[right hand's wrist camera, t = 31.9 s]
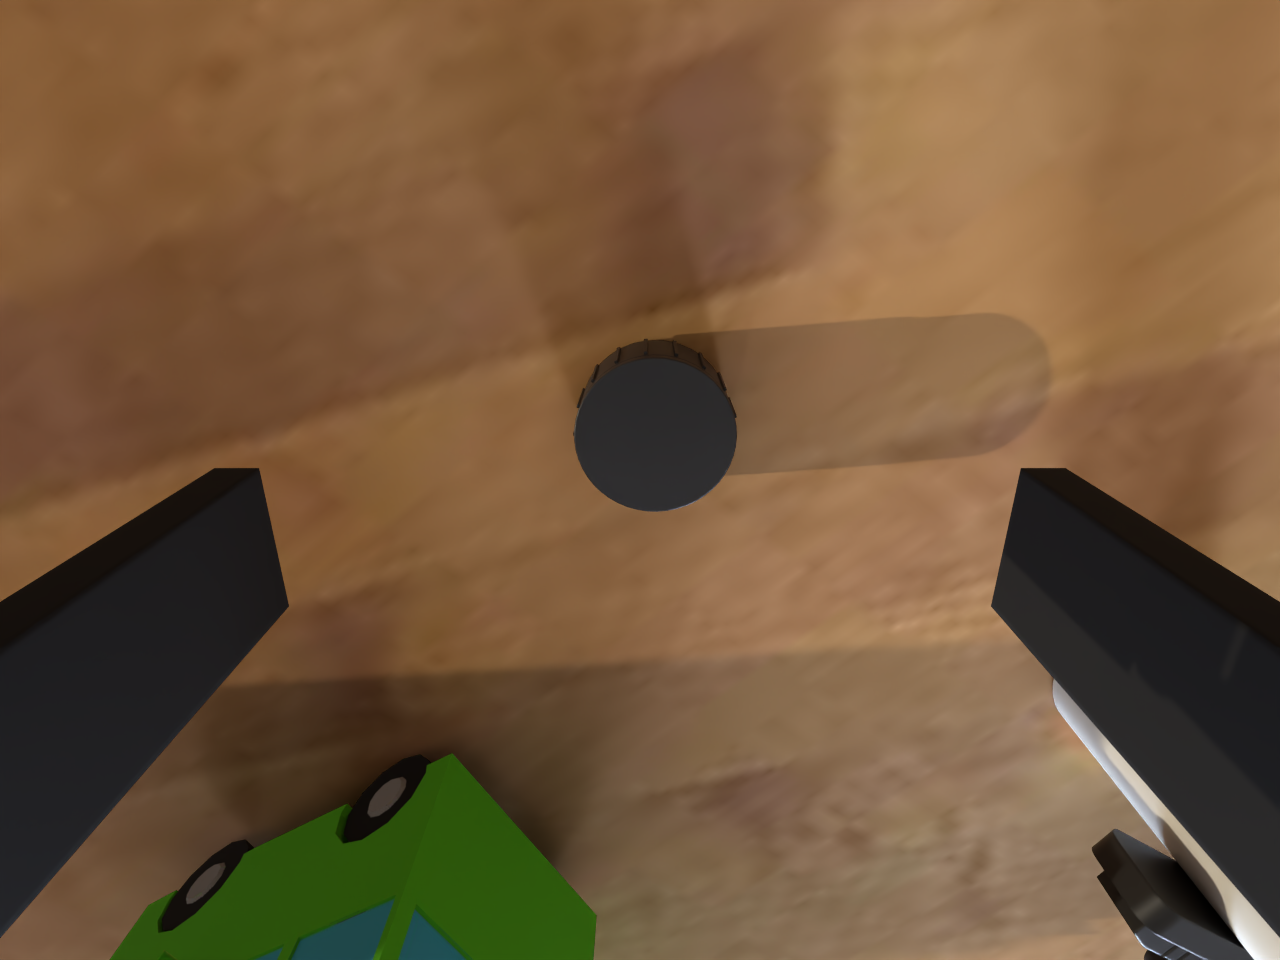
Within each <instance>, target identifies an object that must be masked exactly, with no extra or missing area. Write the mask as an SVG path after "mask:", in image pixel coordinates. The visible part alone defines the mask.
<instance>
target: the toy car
mask: <svg viewBox="0 0 1280 960" xmlns="http://www.w3.org/2000/svg"><path fill="white" fill-rule="evenodd" d="M596 916H597V915H596V914H595V913H594V912H593V911H592V910H591V909H590V907H589V906H588V905H587V904H586V903H585V902H584V901H583V900H582V898H581V897H580V896H579V895H578V894H577V893H576V892H575V891H574V889H573V888H572V887H571V886H570V885H569V884H568V883H567V882H566V880H565V879H564V878H563V877H562V876H561V875H560V874H559V873H558V871H557V870H556V869H555V868H554V867H553V866H552V865H551V864H550V862H549V861H548V860H547V859H546V858H545V857H544V856H543V855H542V854H541V852H540V851H539V850H538V849H537V848H536V847H535V846H534V845H533V843H532V842H531V841H530V840H529V839H528V838H527V837H526V836H525V834H524V833H523V832H522V831H521V830H520V829H519V828H518V827H517V825H516V824H515V823H514V822H513V821H512V820H511V819H510V818H509V816H508V815H507V814H506V813H505V812H504V811H503V810H502V809H501V807H500V806H499V805H498V804H497V803H496V802H495V801H494V800H493V798H492V797H491V796H490V795H489V794H488V793H487V792H486V791H485V790H484V788H483V787H482V786H481V785H480V784H479V783H478V782H477V781H476V779H475V778H474V777H473V776H472V775H471V774H470V773H469V772H468V770H467V769H466V768H465V767H464V766H463V765H462V764H461V763H460V761H459V760H458V759H457V758H456V757H455V756H454V755H453V754H449V755H447V756H445V757H443V758H441V759H439V760H437V761H435V762H433V763H431V762H430V761H428V760H427V759H426V758H424V757H423V756H422V755H417V756H413V757H409V758H405V759H403V760H401V761H400V762H398V763H397V764H395V765H394V766H392V767H391V768H389V769H388V770H386V771H385V772H383V773H382V774H381V775H380V776H379V777H378V778H377V779H376V780H375V781H374V782H373V783H372V784H371V785H370V786H369V787H368V788H367V789H366V790H365V791H364V792H363V794H362V795H361V797H360V798H359V800H358V801H357V803H356V804H355V806H354V807H353V808H352V807H351V806H350V805H349V804H348V803H347V804H345V805H343V806H341V807H339V808H337V809H335V810H333V811H331V812H329V813H327V814H324V815H322V816H320V817H318V818H316V819H314V820H312V821H310V822H308V823H306V824H304V825H302V826H299V827H297V828H295V829H293V830H291V831H289V832H287V833H285V834H283V835H281V836H279V837H277V838H274V839H272V840H270V841H268V842H266V843H264V844H262V845H260V846H258V847H256V848H254V847H253V846H252V845H251V844H250V843H248V842H247V841H246V840H241V841H236V842H232V843H230V844H229V845H227V846H226V847H224V848H223V849H221V850H220V851H218V852H217V853H215V854H214V855H212V856H211V857H210V858H209V859H208V860H207V861H206V862H205V863H204V864H203V865H202V866H201V867H200V868H199V869H198V870H196V871H195V872H194V873H193V874H192V875H191V876H190V877H189V879H188V880H187V881H186V882H185V884H184V885H183V886H182V887H181V889H180V890H179V891H177V890H176V891H174V892H172V893H170V894H168V895H167V896H165V897H163V898H161V899H159V900H157V901H155V902H153V903H152V904H150V905H148V907H147V908H146V909H145V911H144V912H143V914H142V915H141V916H140V918H139V919H138V921H137V922H136V923H135V925H134V926H133V928H132V929H131V930H130V932H129V933H128V935H127V936H126V938H125V939H124V940H123V942H122V943H121V945H120V946H119V947H118V949H117V950H116V952H115V953H114V954H113V956H112V957H111V959H110V960H593V957H594V944H595V930H596Z"/></svg>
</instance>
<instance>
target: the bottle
mask: <svg viewBox="0 0 1280 960" xmlns="http://www.w3.org/2000/svg"><path fill="white" fill-rule="evenodd" d="M1052 689H1053V698H1054V702H1055V705H1056V707H1057V709H1058V711H1059V712H1060V714H1061V715H1062V716H1063V718H1064V719H1065V720H1066V721H1067V723H1068V724H1069V725H1070V726H1071V728H1072V729H1073V730H1074V731H1075V733H1076V734H1077V735H1078V737H1079V738H1080V739H1081V740H1082V742H1083V743H1084V744H1085V745H1086V747H1087V748H1088V749H1089V751H1090V752H1091V753H1092V754H1093V756H1094V757H1095V758H1096V759H1097V761H1098V762H1099V763H1100V765H1101V766H1102V767H1103V768H1104V770H1105V771H1106V772H1107V773H1108V775H1109V776H1110V777H1111V779H1112V780H1113V781H1114V782H1115V784H1116V785H1117V786H1118V787H1119V789H1120V790H1121V791H1122V792H1123V794H1124V795H1125V796H1126V798H1127V799H1128V800H1129V801H1130V803H1131V804H1132V805H1133V806H1134V808H1135V809H1136V810H1137V812H1138V813H1139V814H1140V815H1141V817H1142V818H1143V819H1144V820H1145V822H1146V823H1147V824H1148V826H1149V827H1150V828H1151V829H1152V831H1153V832H1154V833H1155V834H1156V836H1157V837H1158V838H1159V839H1160V841H1161V842H1162V843H1163V845H1164V846H1165V847H1166V848H1167V850H1168V851H1169V852H1170V853H1171V855H1172V856H1173V857H1174V859H1175V860H1176V861H1177V862H1178V864H1179V865H1180V866H1181V867H1182V869H1183V870H1184V871H1185V873H1186V874H1187V875H1188V876H1189V878H1190V879H1191V880H1192V881H1193V883H1194V884H1195V885H1196V887H1197V888H1198V889H1199V890H1200V892H1201V893H1202V894H1203V895H1204V897H1205V898H1206V899H1207V900H1208V902H1209V903H1210V904H1211V906H1212V907H1213V908H1214V909H1215V911H1216V912H1217V913H1218V914H1219V916H1220V917H1221V918H1222V920H1223V921H1224V922H1225V923H1226V925H1227V926H1228V927H1229V928H1230V930H1231V931H1232V932H1233V934H1234V935H1235V936H1236V937H1237V939H1238V940H1239V941H1240V942H1241V944H1242V945H1243V946H1244V948H1245V949H1246V950H1247V951H1248V953H1249V954H1250V955H1251V956H1252V958H1253V959H1254V960H1280V938H1279V936H1278V935H1277V934H1276V933H1275V932H1274V931H1273V930H1272V928H1271V927H1270V926H1269V925H1268V924H1267V923H1266V922H1265V920H1264V919H1263V918H1262V917H1261V916H1260V915H1259V914H1258V912H1257V911H1256V910H1255V909H1254V908H1253V907H1252V905H1251V904H1250V903H1249V902H1248V901H1247V900H1246V899H1245V897H1244V896H1243V895H1242V894H1241V893H1240V892H1239V891H1238V889H1237V888H1236V887H1235V886H1234V885H1233V884H1232V882H1231V881H1230V880H1229V879H1228V878H1227V877H1226V876H1225V874H1224V873H1223V872H1222V871H1221V870H1220V869H1219V868H1218V866H1217V865H1216V864H1215V863H1214V862H1213V861H1212V859H1211V858H1210V857H1209V856H1208V855H1207V854H1206V853H1205V851H1204V850H1203V849H1202V848H1201V847H1200V846H1199V845H1198V843H1197V842H1196V841H1195V840H1194V839H1193V838H1192V837H1191V835H1190V834H1189V833H1188V832H1187V831H1186V830H1185V828H1184V827H1183V826H1182V825H1181V824H1180V823H1179V822H1178V820H1177V819H1176V818H1175V817H1174V816H1173V815H1172V814H1171V812H1170V811H1169V810H1168V809H1167V808H1166V807H1165V805H1164V804H1163V803H1162V802H1161V801H1160V800H1159V799H1158V797H1157V796H1156V795H1155V794H1154V793H1153V792H1152V791H1151V789H1150V788H1149V787H1148V786H1147V785H1146V784H1145V783H1144V781H1143V780H1142V779H1141V778H1140V777H1139V776H1138V774H1137V773H1136V772H1135V771H1134V770H1133V769H1132V768H1131V766H1130V765H1129V764H1128V763H1127V762H1126V761H1125V760H1124V758H1123V757H1122V756H1121V755H1120V754H1119V753H1118V751H1117V750H1116V749H1115V748H1114V747H1113V746H1112V745H1111V743H1110V742H1109V741H1108V740H1107V739H1106V738H1105V737H1104V735H1103V734H1102V733H1101V732H1100V731H1099V730H1098V728H1097V727H1096V726H1095V725H1094V724H1093V723H1092V722H1091V720H1090V719H1089V718H1088V717H1087V716H1086V715H1085V714H1084V712H1083V711H1082V710H1081V709H1080V708H1079V707H1078V706H1077V704H1076V703H1075V702H1074V701H1073V700H1072V699H1071V697H1070V696H1069V695H1068V694H1067V693H1066V692H1065V691H1064V689H1063V688H1062V687H1061V686H1060V685H1059V684H1058V683H1057V681H1056V680H1055V679H1054V680H1053V688H1052Z"/></svg>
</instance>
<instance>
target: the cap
mask: <svg viewBox="0 0 1280 960" xmlns="http://www.w3.org/2000/svg"><path fill="white" fill-rule="evenodd" d="M577 408H579V410H578V413H577V417H576V421H575V428H574V433H573V435H574V441H575V448H576V453H577V456H578V460H579V462H580V464H581V467H582V469H583V470H584V472H585V474H586V475H587V477H588V478H589V480H590V481H591V482H592V483H593V485H594V486H595V487H596V488H597V489H599V490H600V491H601V492H602V493H603V494H604V495H606V496H607V497H608V498H610V499H612V500H614V501H615V502H617V503H619V504H622V505H624V506H626V507H629V508H633V509H637V510H643V511H656V512H658V511H668V510H673V509H678V508H681V507H684V506H687V505H689V504H691V503H693V502H695V501H697V500H699V499H700V498H702V497H703V496H705V495H706V494H707V493H708V492H710V491H711V490H712V489H713V488H714V487H715V486H716V485H717V484H718V483H719V482H720V480H721V479H722V478H723V476H724V475H725V473H726V471H727V470H728V468H729V466H730V464H731V461H732V458H733V456H734V452H735V447H736V439H737V430H736V421H735V418H736V413H735V411H734V408H733V405H732V403H731V400H730V398H728V396H727V394H726V387H725V385H724V382H723V379H722V377H721V374H720V373H719V372H718V373H717V372H716V371H715V370H714V368H713V367H712V366H711V365H710V364H709V362H708V361H707V360H705V359H704V358H703V356H702V354H701V353H700V352H699V353H696V352H695V351H693V350H692V349H690V348H688V347H685V346H683V345H680V344H677V343H676V341H673V342H669V341H663V340H649V341H648V339H644V341H641V342H637V343H633V344H630V345H627V346H625V347H623V348H620V347H618V348H617V350H616V351H615V352H614V353H612V354H611V355H610V356H608V357H607V358H606V359H605V360H604V361H603V362H602V363H601V364H600V365H598V364H597V365H596V366H595V369H594V372H593V374H592V376H591V377H590V379H589V381H588V384H587V386H586V388H583V390H582V393H581V396H580V399H579V402H578V404H577Z"/></svg>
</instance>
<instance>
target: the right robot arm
mask: <svg viewBox="0 0 1280 960" xmlns="http://www.w3.org/2000/svg"><path fill="white" fill-rule="evenodd" d="M288 607H289V604H288V600H287V595H286V591H285V586H284V581H283V577H282V572H281V567H280V563H279V558H278V554H277V549H276V544H275V540H274V535H273V531H272V526H271V521H270V517H269V512H268V507H267V503H266V498H265V494H264V489H263V484H262V480H261V475H260V471H259V468H214V469H213V470H211V471H209V472H208V473H206V474H205V475H203V476H201V477H200V478H198V479H197V480H195V481H193V482H192V483H190V484H189V485H187V486H185V487H184V488H182V489H180V490H179V491H177V492H176V493H174V494H172V495H171V496H169V497H168V498H166V499H164V500H163V501H161V502H160V503H158V504H156V505H155V506H153V507H152V508H150V509H148V510H147V511H145V512H144V513H142V514H140V515H139V516H137V517H136V518H134V519H132V520H131V521H129V522H128V523H126V524H124V525H123V526H121V527H120V528H118V529H116V530H115V531H113V532H112V533H110V534H108V535H107V536H105V537H104V538H102V539H100V540H99V541H97V542H96V543H94V544H92V545H91V546H89V547H88V548H86V549H84V550H83V551H81V552H80V553H78V554H76V555H75V556H73V557H72V558H70V559H68V560H67V561H65V562H64V563H62V564H60V565H59V566H57V567H55V568H54V569H52V570H51V571H49V572H47V573H46V574H44V575H43V576H41V577H39V578H38V579H36V580H35V581H33V582H31V583H30V584H28V585H27V586H25V587H23V588H22V589H20V590H19V591H17V592H15V593H14V594H12V595H11V596H9V597H7V598H6V599H4V600H3V601H1V602H0V938H1V936H2V935H3V934H4V933H5V932H6V931H7V930H8V928H9V927H10V926H11V925H12V924H13V923H14V922H15V920H16V919H17V918H18V917H19V916H20V915H21V913H22V912H23V911H24V910H25V909H26V908H27V907H28V905H29V904H30V903H31V902H32V901H33V900H34V899H35V897H36V896H37V895H38V894H39V893H40V892H41V891H42V889H43V888H44V887H45V886H46V885H47V884H48V882H49V881H50V880H51V879H52V878H53V877H54V876H55V874H56V873H57V872H58V871H59V870H60V869H61V868H62V866H63V865H64V864H65V863H66V862H67V861H68V859H69V858H70V857H71V856H72V855H73V854H74V853H75V851H76V850H77V849H78V848H79V847H80V846H81V845H82V843H83V842H84V841H85V840H86V839H87V838H88V837H89V835H90V834H91V833H92V832H93V831H94V830H95V828H96V827H97V826H98V825H99V824H100V823H101V822H102V820H103V819H104V818H105V817H106V816H107V815H108V814H109V812H110V811H111V810H112V809H113V808H114V807H115V805H116V804H117V803H118V802H119V801H120V800H121V799H122V797H123V796H124V795H125V794H126V793H127V792H128V791H129V789H130V788H131V787H132V786H133V785H134V784H135V782H136V781H137V780H138V779H139V778H140V777H141V776H142V774H143V773H144V772H145V771H146V770H147V769H148V768H149V766H150V765H151V764H152V763H153V762H154V761H155V760H156V758H157V757H158V756H159V755H160V754H161V753H162V751H163V750H164V749H165V748H166V747H167V746H168V745H169V743H170V742H171V741H172V740H173V739H174V738H175V737H176V735H177V734H178V733H179V732H180V731H181V730H182V728H183V727H184V726H185V725H186V724H187V723H188V722H189V720H190V719H191V718H192V717H193V716H194V715H195V714H196V712H197V711H198V710H199V709H200V708H201V707H202V706H203V704H204V703H205V702H206V701H207V700H208V699H209V697H210V696H211V695H212V694H213V693H214V692H215V691H216V689H217V688H218V687H219V686H220V685H221V684H222V683H223V681H224V680H225V679H226V678H227V677H228V676H229V674H230V673H231V672H232V671H233V670H234V669H235V668H236V666H237V665H238V664H239V663H240V662H241V661H242V660H243V658H244V657H245V656H246V655H247V654H248V653H249V651H250V650H251V649H252V648H253V647H254V646H255V645H256V643H257V642H258V641H259V640H260V639H261V638H262V637H263V635H264V634H265V633H266V632H267V631H268V630H269V629H270V627H271V626H272V625H273V624H274V623H275V622H276V620H277V619H278V618H279V617H280V616H281V615H282V614H283V612H284V611H285V610H286V609H287V608H288ZM991 607H992V608H993V609H994V610H995V611H996V612H997V614H998V615H999V616H1000V617H1001V618H1002V619H1003V620H1004V622H1005V623H1006V624H1007V625H1008V626H1009V627H1010V629H1011V630H1012V631H1013V632H1014V633H1015V634H1016V635H1017V637H1018V638H1019V639H1020V640H1021V641H1022V642H1023V643H1024V645H1025V646H1026V647H1027V648H1028V649H1029V650H1030V651H1031V653H1032V654H1033V655H1034V656H1035V657H1036V658H1037V660H1038V661H1039V662H1040V663H1041V664H1042V665H1043V666H1044V668H1045V669H1046V670H1047V671H1048V672H1049V673H1050V674H1051V676H1052V677H1053V678H1054V679H1055V680H1056V681H1057V683H1058V684H1059V685H1060V686H1061V687H1062V688H1063V689H1064V691H1065V692H1066V693H1067V694H1068V695H1069V696H1070V697H1071V699H1072V700H1073V701H1074V702H1075V703H1076V704H1077V706H1078V707H1079V708H1080V709H1081V710H1082V711H1083V712H1084V714H1085V715H1086V716H1087V717H1088V718H1089V719H1090V720H1091V722H1092V723H1093V724H1094V725H1095V726H1096V727H1097V728H1098V730H1099V731H1100V732H1101V733H1102V734H1103V735H1104V737H1105V738H1106V739H1107V740H1108V741H1109V742H1110V743H1111V745H1112V746H1113V747H1114V748H1115V749H1116V750H1117V751H1118V753H1119V754H1120V755H1121V756H1122V757H1123V758H1124V760H1125V761H1126V762H1127V763H1128V764H1129V765H1130V766H1131V768H1132V769H1133V770H1134V771H1135V772H1136V773H1137V774H1138V776H1139V777H1140V778H1141V779H1142V780H1143V781H1144V783H1145V784H1146V785H1147V786H1148V787H1149V788H1150V789H1151V791H1152V792H1153V793H1154V794H1155V795H1156V796H1157V797H1158V799H1159V800H1160V801H1161V802H1162V803H1163V804H1164V805H1165V807H1166V808H1167V809H1168V810H1169V811H1170V812H1171V814H1172V815H1173V816H1174V817H1175V818H1176V819H1177V820H1178V822H1179V823H1180V824H1181V825H1182V826H1183V827H1184V828H1185V830H1186V831H1187V832H1188V833H1189V834H1190V835H1191V837H1192V838H1193V839H1194V840H1195V841H1196V842H1197V843H1198V845H1199V846H1200V847H1201V848H1202V849H1203V850H1204V851H1205V853H1206V854H1207V855H1208V856H1209V857H1210V858H1211V859H1212V861H1213V862H1214V863H1215V864H1216V865H1217V866H1218V868H1219V869H1220V870H1221V871H1222V872H1223V873H1224V874H1225V876H1226V877H1227V878H1228V879H1229V880H1230V881H1231V882H1232V884H1233V885H1234V886H1235V887H1236V888H1237V889H1238V891H1239V892H1240V893H1241V894H1242V895H1243V896H1244V897H1245V899H1246V900H1247V901H1248V902H1249V903H1250V904H1251V905H1252V907H1253V908H1254V909H1255V910H1256V911H1257V912H1258V914H1259V915H1260V916H1261V917H1262V918H1263V919H1264V920H1265V922H1266V923H1267V924H1268V925H1269V926H1270V927H1271V928H1272V930H1273V931H1274V932H1275V933H1276V934H1277V935H1278V936H1279V938H1280V602H1279V601H1277V600H1276V599H1274V598H1273V597H1271V596H1269V595H1268V594H1266V593H1265V592H1263V591H1261V590H1260V589H1258V588H1257V587H1255V586H1253V585H1252V584H1250V583H1249V582H1247V581H1245V580H1244V579H1242V578H1241V577H1239V576H1237V575H1236V574H1234V573H1233V572H1231V571H1229V570H1228V569H1226V568H1224V567H1223V566H1221V565H1220V564H1218V563H1216V562H1215V561H1213V560H1212V559H1210V558H1208V557H1207V556H1205V555H1204V554H1202V553H1200V552H1199V551H1197V550H1196V549H1194V548H1192V547H1191V546H1189V545H1188V544H1186V543H1184V542H1183V541H1181V540H1180V539H1178V538H1176V537H1175V536H1173V535H1172V534H1170V533H1168V532H1167V531H1165V530H1164V529H1162V528H1160V527H1159V526H1157V525H1156V524H1154V523H1152V522H1151V521H1149V520H1148V519H1146V518H1144V517H1143V516H1141V515H1140V514H1138V513H1136V512H1135V511H1133V510H1132V509H1130V508H1128V507H1127V506H1125V505H1124V504H1122V503H1120V502H1119V501H1117V500H1116V499H1114V498H1112V497H1111V496H1109V495H1108V494H1106V493H1104V492H1103V491H1101V490H1100V489H1098V488H1096V487H1095V486H1093V485H1091V484H1090V483H1088V482H1087V481H1085V480H1083V479H1082V478H1080V477H1079V476H1077V475H1075V474H1074V473H1072V472H1071V471H1069V470H1067V469H1066V468H1021V471H1020V475H1019V480H1018V484H1017V489H1016V494H1015V498H1014V503H1013V507H1012V512H1011V517H1010V521H1009V526H1008V531H1007V535H1006V540H1005V544H1004V549H1003V554H1002V558H1001V563H1000V567H999V572H998V577H997V581H996V586H995V591H994V595H993V600H992V604H991Z"/></svg>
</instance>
